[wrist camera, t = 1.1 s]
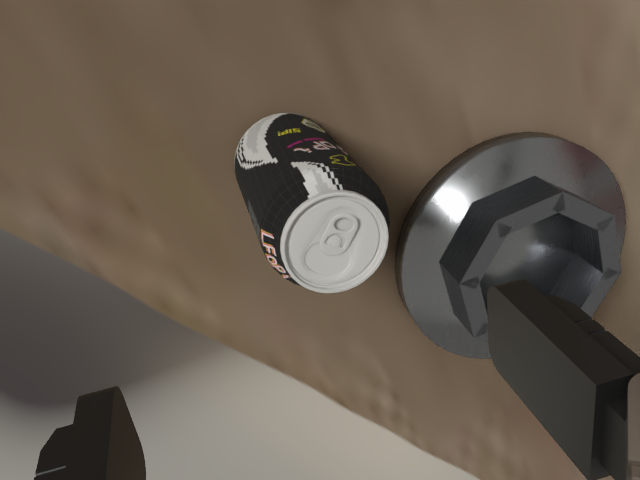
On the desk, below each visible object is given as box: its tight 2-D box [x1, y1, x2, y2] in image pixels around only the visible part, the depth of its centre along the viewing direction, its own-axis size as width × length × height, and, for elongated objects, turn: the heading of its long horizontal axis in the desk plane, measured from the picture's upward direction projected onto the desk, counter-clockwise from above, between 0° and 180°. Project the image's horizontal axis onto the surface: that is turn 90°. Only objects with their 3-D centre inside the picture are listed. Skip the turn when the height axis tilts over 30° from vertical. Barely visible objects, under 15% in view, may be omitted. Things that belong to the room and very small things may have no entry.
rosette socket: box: [395, 132, 626, 359], centre depth 40 cm, size 16×16×4 cm
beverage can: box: [234, 113, 390, 293], centre depth 30 cm, size 6×6×12 cm
